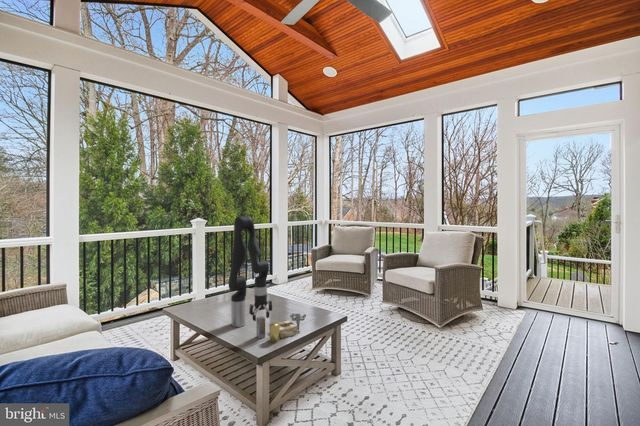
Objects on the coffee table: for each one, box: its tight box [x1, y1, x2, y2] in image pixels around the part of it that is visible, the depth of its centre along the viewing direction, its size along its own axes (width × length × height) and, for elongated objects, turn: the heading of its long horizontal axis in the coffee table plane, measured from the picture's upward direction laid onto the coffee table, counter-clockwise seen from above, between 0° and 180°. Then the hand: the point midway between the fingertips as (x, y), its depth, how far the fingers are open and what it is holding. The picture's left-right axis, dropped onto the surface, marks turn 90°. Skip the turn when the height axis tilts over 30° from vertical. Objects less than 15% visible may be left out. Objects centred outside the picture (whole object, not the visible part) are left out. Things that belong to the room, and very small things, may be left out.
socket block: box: [278, 319, 298, 340], centre depth 203 cm, size 12×12×5 cm
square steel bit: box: [256, 316, 266, 339], centre depth 197 cm, size 4×4×12 cm
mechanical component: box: [289, 313, 307, 331], centre depth 209 cm, size 3×10×10 cm, turn 94°
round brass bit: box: [269, 321, 281, 343], centre depth 193 cm, size 6×6×10 cm
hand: (261, 319), depth 197 cm, fingers open, 8 cm apart
